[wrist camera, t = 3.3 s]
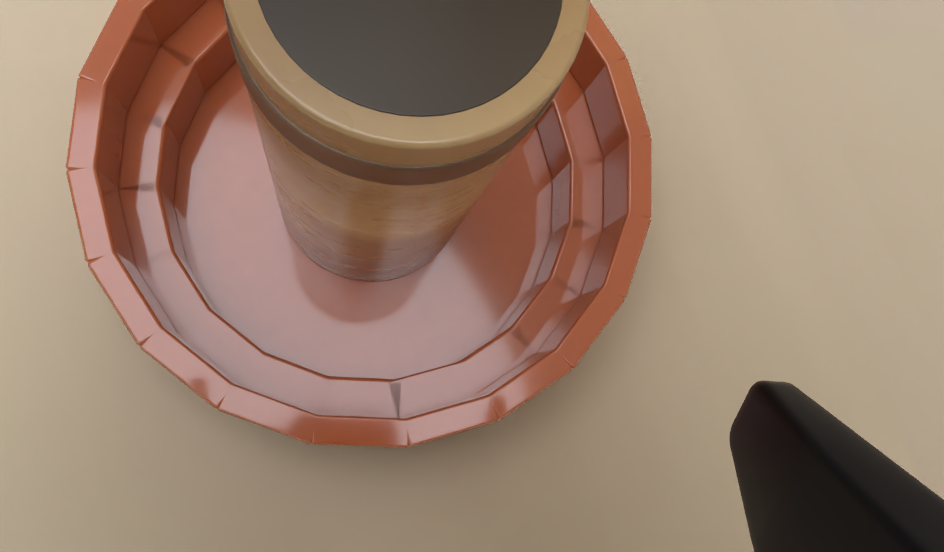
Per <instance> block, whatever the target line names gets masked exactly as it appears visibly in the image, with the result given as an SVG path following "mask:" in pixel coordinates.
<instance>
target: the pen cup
mask: <svg viewBox="0 0 944 552" xmlns="http://www.w3.org/2000/svg"><path fill="white" fill-rule="evenodd" d="M223 1H224V12H225V20H226V24H227V29H228V33H229V37H230V41H231V45H232V48H233V52H234V55H235V59H236V62H237V65H238V68H239V70H240V73H241V75H242V78H243V81H244V83H245V85H246V87H247V89H248V93H249V96H250V100H251V104H252V107H253V111H254V115H255V118H256V122H257V126H258V129H259V133H260V137H261V140H262V144H263V148H264V151H265V155H266V159H267V162H268V166H269V170H270V173H271V177H272V181H273V184H274V188H275V192H276V195H277V199H278V203H279V206H280V210H281V214H282V217H283V220H284V222H285V225H286V227H287V229H288V231H289V233H290V235H291V236H292V238H293V240H294V241H295V242H296V244H297V245H298V246H299V248H300V249H301V250H302V251H303V252H304V253H305V254H306V255H307V256H308V257H309V258H310V259H312V260H313V261H314V262H315V263H317V264H318V265H320V266H321V267H323V268H325V269H326V270H328V271H330V272H333V273H335V274H337V275H339V276H343V277H346V278H350V279H354V280H361V281H384V280H390V279H395V278H399V277H402V276H404V275H407V274H410V273H412V272H414V271H416V270H418V269H419V268H421V267H423V266H424V265H425V264H427V263H428V262H430V261H431V260H432V259H433V258H434V257H435V256H436V255H437V254H438V253H439V252H440V251H441V250H442V248H443V247H444V246H445V245H446V243H447V242H448V241H449V239H450V238H451V236H452V235H453V234H454V232H455V231H456V229H457V228H458V227H459V225H460V224H461V222H462V221H463V220H464V218H465V217H466V215H467V214H468V213H469V211H470V210H471V208H472V207H473V206H474V204H475V203H476V201H477V200H478V199H479V197H480V196H481V194H482V193H483V192H484V190H485V189H486V187H487V186H488V184H489V183H490V182H491V180H492V179H493V177H494V176H495V175H496V173H497V172H498V170H499V169H500V168H501V166H502V165H503V163H504V162H505V161H506V159H507V158H508V156H509V155H510V154H511V152H512V151H513V149H514V148H515V147H516V145H517V144H518V143H519V142H520V141H521V140H522V139H523V138H524V137H525V136H526V135H527V134H528V133H529V131H530V130H531V129H532V128H533V126H534V125H535V124H536V123H537V121H538V120H539V119H540V117H541V116H542V115H543V113H544V112H545V110H546V109H547V108H548V106H549V105H550V103H551V102H552V100H553V98H554V97H555V95H556V93H557V92H558V90H559V88H560V87H561V84H562V82H563V80H564V77H565V76H566V74H567V72H568V71H569V69H570V67H571V66H572V64H573V62H574V60H575V58H576V55H577V53H578V51H579V48H580V46H581V43H582V40H583V37H584V33H585V29H586V25H587V21H588V13H589V4H590V0H223Z"/></svg>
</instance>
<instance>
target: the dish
mask: <svg viewBox="0 0 944 552" xmlns="http://www.w3.org/2000/svg"><path fill="white" fill-rule="evenodd" d="M79 77H80V78H78V81H77V88H76V95H75V103H74V110H73V118H72V125H71V133H70V140H69V148H68V156H67V163H66V168H67V169H68V170H67V172H66V174H67V178H68V183H69V187H70V192H71V196H72V201H73V205H74V210H75V214H76V219H77V223H78V228H79V233H80V237H81V242H82V246H83V251H84V255H85V260H86V261H87V262H88V267H89V269H90V270H91V272H92V273H93V275H94V276H95V278H96V280H97V281H98V283H99V284H100V286H101V288H102V289H103V291H104V292H105V294H106V296H107V297H108V299H109V300H110V302H111V304H112V305H113V307H114V308H115V310H116V311H117V313H118V315H119V316H120V318H121V319H122V321H123V323H124V324H125V326H126V327H127V329H128V331H129V332H130V334H131V335H132V337H133V338H134V340H135V342H136V343H137V344H138V345H139V346H140V348H141V349H142V350H143V351H144V352H146V353H147V354H148V355H149V356H151V357H152V358H153V359H154V360H156V361H157V362H158V363H159V364H161V365H162V366H163V367H164V368H166V369H167V370H168V371H169V372H171V373H172V374H173V375H174V376H176V377H177V378H178V379H179V380H181V381H182V382H183V383H184V384H186V385H187V386H188V387H189V388H191V389H192V390H193V391H194V392H195V393H197V394H198V395H199V396H200V397H202V398H203V399H204V400H205V401H207V402H208V403H209V404H210V405H212V406H213V407H214V408H218V410H219V411H222V412H224V413H227V414H230V415H233V416H235V417H238V418H241V419H243V420H246V421H249V422H252V423H254V424H257V425H260V426H262V427H265V428H268V429H271V430H273V431H276V432H279V433H282V434H284V435H287V436H290V437H292V438H295V439H298V440H301V441H303V442H306V443H312V444H317V445H348V446H378V447H408V446H411V447H412V446H415V445H419V444H422V443H426V442H429V441H432V440H436V439H439V438H443V437H446V436H449V435H453V434H456V433H460V432H463V431H466V430H470V429H473V428H476V427H480V426H483V425H487V424H490V423H493V422H497V421H498V419H503V418H504V417H505V416H507V415H508V414H510V413H511V412H513V411H514V410H515V409H517V408H518V407H520V406H521V405H523V404H524V403H525V402H527V401H528V400H530V399H531V398H533V397H534V396H535V395H537V394H538V393H540V392H541V391H543V390H544V389H546V388H547V387H548V386H550V385H551V384H553V383H554V382H556V381H557V380H558V379H560V378H561V377H563V376H564V375H566V374H567V373H568V372H570V371H571V370H572V368H574V367H575V366H576V365H577V364H578V362H579V361H580V360H581V358H582V357H583V356H584V354H585V353H586V352H587V350H588V349H589V348H590V346H591V345H592V343H593V342H594V341H595V339H596V338H597V337H598V335H599V334H600V333H601V331H602V330H603V329H604V327H605V326H606V325H607V323H608V322H609V321H610V319H611V318H612V316H613V315H614V314H615V312H616V311H617V310H618V308H619V307H620V306H621V304H622V303H623V302H624V298H625V297H626V295H627V292H628V289H629V286H630V283H631V280H632V277H633V274H634V271H635V268H636V265H637V262H638V258H639V255H640V252H641V249H642V246H643V243H644V240H645V237H646V234H647V231H648V228H649V225H650V222H651V220H650V218H651V137H650V130H649V127H648V124H647V121H646V117H645V114H644V111H643V108H642V105H641V101H640V98H639V95H638V92H637V88H636V85H635V82H634V79H633V75H632V72H631V69H630V66H629V62H628V60H627V58H626V56H625V54H624V52H623V51H622V49H621V48H620V46H619V45H618V43H617V42H616V40H615V39H614V37H613V36H612V34H611V33H610V31H609V30H608V28H607V27H606V25H605V24H604V22H603V21H602V19H601V18H600V16H599V15H598V13H597V12H596V10H595V9H594V7H593V6H592V4H591V3H590V4H589V13H588V21H587V25H586V29H585V33H584V37H583V40H582V43H581V46H580V48H579V51H578V53H577V55H576V58H575V60H574V62H573V64H572V66H571V67H570V69H569V71H568V72H567V74H566V76H565V77H564V80H563V82H562V84H561V87H560V88H559V90H558V92H557V93H556V95H555V97H554V98H553V100H552V102H551V103H550V105H549V106H548V108H547V109H546V110H545V112H544V113H543V115H542V116H541V117H540V119H539V120H538V121H537V123H536V124H535V125H534V126H533V128H532V129H531V130H530V131H529V133H528V134H527V135H526V136H525V137H524V138H523V139H522V140H521V141H520V142H519V143H518V144H517V145H516V147H515V148H514V149H513V151H512V152H511V154H510V155H509V156H508V158H507V159H506V161H505V162H504V163H503V165H502V166H501V168H500V169H499V170H498V172H497V173H496V175H495V176H494V177H493V179H492V180H491V182H490V183H489V184H488V186H487V187H486V189H485V190H484V192H483V193H482V194H481V196H480V197H479V199H478V200H477V201H476V203H475V204H474V206H473V207H472V208H471V210H470V211H469V213H468V214H467V215H466V217H465V218H464V220H463V221H462V222H461V224H460V225H459V227H458V228H457V229H456V231H455V232H454V234H453V235H452V236H451V238H450V239H449V241H448V242H447V243H446V245H445V246H444V247H443V248H442V250H441V251H440V252H439V253H438V254H437V255H436V256H435V257H434V258H433V259H432V260H431V261H430V262H428V263H427V264H425V265H424V266H423V267H421V268H419V269H418V270H416V271H414V272H412V273H410V274H407V275H404V276H402V277H399V278H395V279H390V280H384V281H361V280H354V279H350V278H346V277H343V276H339V275H337V274H335V273H333V272H330V271H328V270H326V269H325V268H323V267H321V266H320V265H318V264H317V263H315V262H314V261H313V260H312V259H310V258H309V257H308V256H307V255H306V254H305V253H304V252H303V251H302V250H301V249H300V248H299V246H298V245H297V244H296V242H295V241H294V240H293V238H292V236H291V235H290V233H289V231H288V229H287V227H286V225H285V222H284V220H283V217H282V214H281V210H280V206H279V203H278V199H277V195H276V192H275V188H274V184H273V181H272V177H271V173H270V170H269V166H268V162H267V159H266V155H265V151H264V148H263V144H262V140H261V137H260V133H259V129H258V126H257V122H256V118H255V115H254V111H253V107H252V104H251V100H250V96H249V93H248V89H247V87H246V85H245V83H244V81H243V78H242V75H241V73H240V70H239V68H238V65H237V62H236V59H235V55H234V52H233V48H232V45H231V41H230V37H229V33H228V29H227V24H226V20H225V12H224V1H223V0H118V1H117V3H116V5H115V7H114V8H113V10H112V12H111V14H110V16H109V18H108V20H107V22H106V24H105V26H104V28H103V30H102V32H101V33H100V35H99V37H98V39H97V41H96V43H95V45H94V47H93V49H92V51H91V53H90V55H89V57H88V58H87V60H86V62H85V64H84V66H83V68H82V70H81V72H80V74H79Z"/></svg>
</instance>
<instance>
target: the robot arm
mask: <svg viewBox="0 0 944 552" xmlns="http://www.w3.org/2000/svg"><path fill="white" fill-rule="evenodd" d="M730 447H731V452H732V456H733V460H734V465H735V469H736V474H737V478H738V483H739V487H740V492H741V496H742V500H743V505H744V509H745V514H746V518H747V523H748V527H749V532H750V536H751V540H752V544H753V548H754V552H944V500H943V499H942V498H940V497H939V496H938V495H937V494H935V493H934V492H933V491H931V490H930V489H929V488H927V487H926V486H925V485H923V484H922V483H921V482H920V481H918V480H917V479H916V478H914V477H913V476H912V475H910V474H909V473H908V472H906V471H905V470H904V469H902V468H901V467H900V466H899V465H897V464H896V463H895V462H893V461H892V460H891V459H889V458H888V457H887V456H885V455H884V454H883V453H882V452H880V451H879V450H878V449H876V448H875V447H874V446H872V445H871V444H870V443H868V442H867V441H866V440H864V439H863V438H862V437H861V436H859V435H858V434H857V433H855V432H854V431H853V430H851V429H850V428H849V427H847V426H846V425H845V424H844V423H842V422H841V421H840V420H838V419H837V418H836V417H834V416H833V415H832V414H830V413H829V412H828V411H826V410H825V409H824V408H823V407H821V406H820V405H819V404H817V403H816V402H815V401H813V400H812V399H811V398H809V397H808V396H807V395H806V394H804V393H803V392H802V391H800V390H799V389H798V388H796V387H795V386H794V385H792V384H790V383H786V382H775V381H759V382H756V383H755V384H754V385H753V386H752V387H751V388H750V390H749V392H748V394H747V396H746V398H745V400H744V402H743V404H742V406H741V408H740V410H739V412H738V414H737V416H736V418H735V420H734V422H733V424H732V427H731V431H730Z"/></svg>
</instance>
